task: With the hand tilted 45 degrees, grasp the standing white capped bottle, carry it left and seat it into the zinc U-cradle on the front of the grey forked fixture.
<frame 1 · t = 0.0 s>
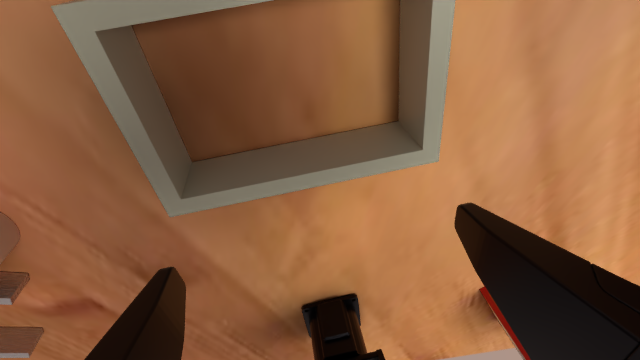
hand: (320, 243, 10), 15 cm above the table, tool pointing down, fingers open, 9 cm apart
rectangular open frame: (283, 76, 21), on the table
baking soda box: (510, 292, 43), on the table
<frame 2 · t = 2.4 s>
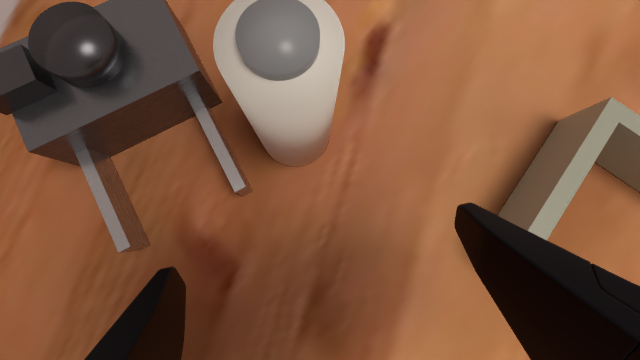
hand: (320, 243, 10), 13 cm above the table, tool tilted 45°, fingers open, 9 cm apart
rectangular open frame: (624, 257, 24), on the table
white capped bottle: (295, 133, 25), on the table
grey forked fixture: (176, 177, 24), on the table
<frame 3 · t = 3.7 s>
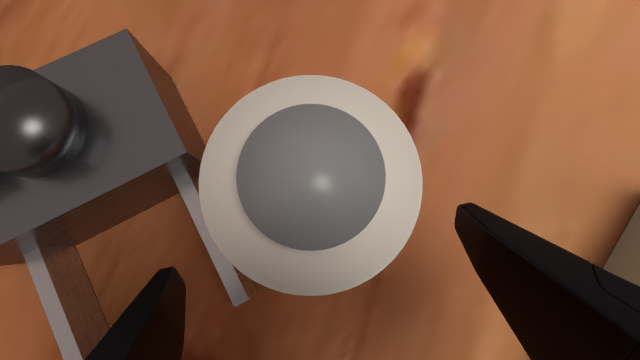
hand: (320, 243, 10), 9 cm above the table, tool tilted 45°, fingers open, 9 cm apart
white capped bottle: (312, 212, 19), on the table
grey forked fixture: (159, 272, 19), on the table
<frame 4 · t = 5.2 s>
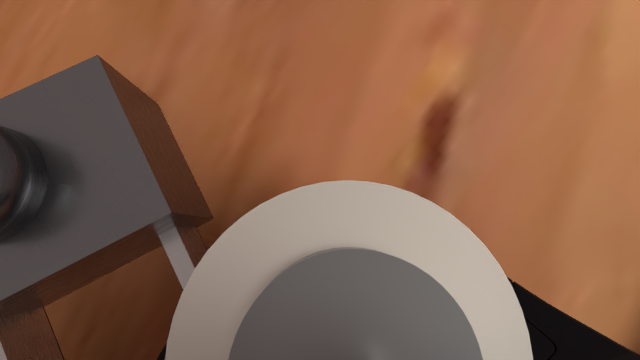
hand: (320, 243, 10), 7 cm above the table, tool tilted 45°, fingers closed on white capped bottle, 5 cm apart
white capped bottle: (323, 265, 16), on the table, touching gripper
grey forked fixture: (143, 339, 16), on the table
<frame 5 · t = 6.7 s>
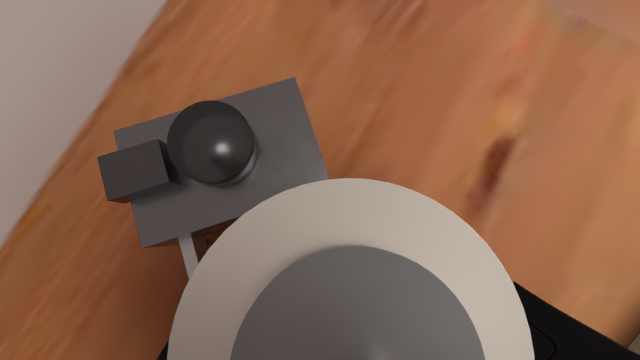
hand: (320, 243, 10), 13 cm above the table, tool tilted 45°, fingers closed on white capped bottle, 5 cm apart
white capped bottle: (324, 265, 16), point 6 cm above the table, touching gripper
grey forked fixture: (270, 270, 22), on the table
when the fingers open (8 cm above the table, at t = 8.6 s): white capped bottle drops 1 cm, on the table.
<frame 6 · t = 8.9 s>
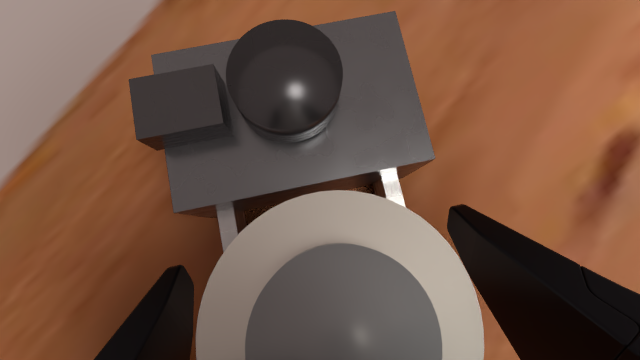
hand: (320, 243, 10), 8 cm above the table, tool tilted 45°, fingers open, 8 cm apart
white capped bottle: (322, 264, 18), on the table
grey forked fixture: (322, 263, 18), on the table
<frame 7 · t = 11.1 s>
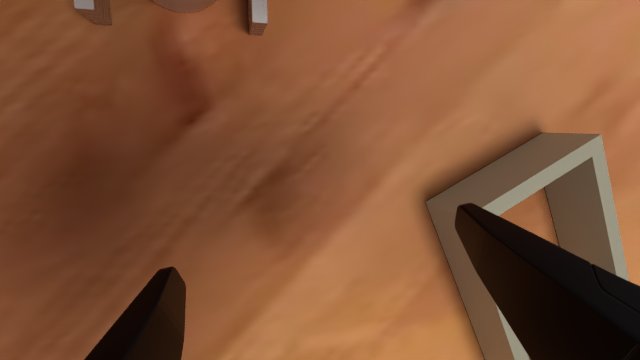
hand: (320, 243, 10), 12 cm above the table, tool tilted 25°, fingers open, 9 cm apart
rectangular open frame: (514, 256, 29), on the table
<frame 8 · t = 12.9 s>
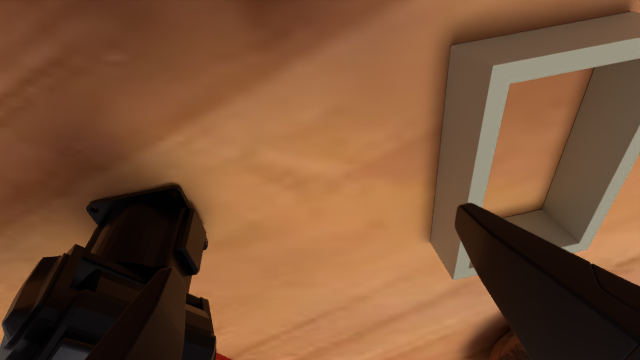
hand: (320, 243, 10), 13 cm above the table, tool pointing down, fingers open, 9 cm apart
rectangular open frame: (511, 149, 26), on the table
jug: (534, 333, 48), on the table
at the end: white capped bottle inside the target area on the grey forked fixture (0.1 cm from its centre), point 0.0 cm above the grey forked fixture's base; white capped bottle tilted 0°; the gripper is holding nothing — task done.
